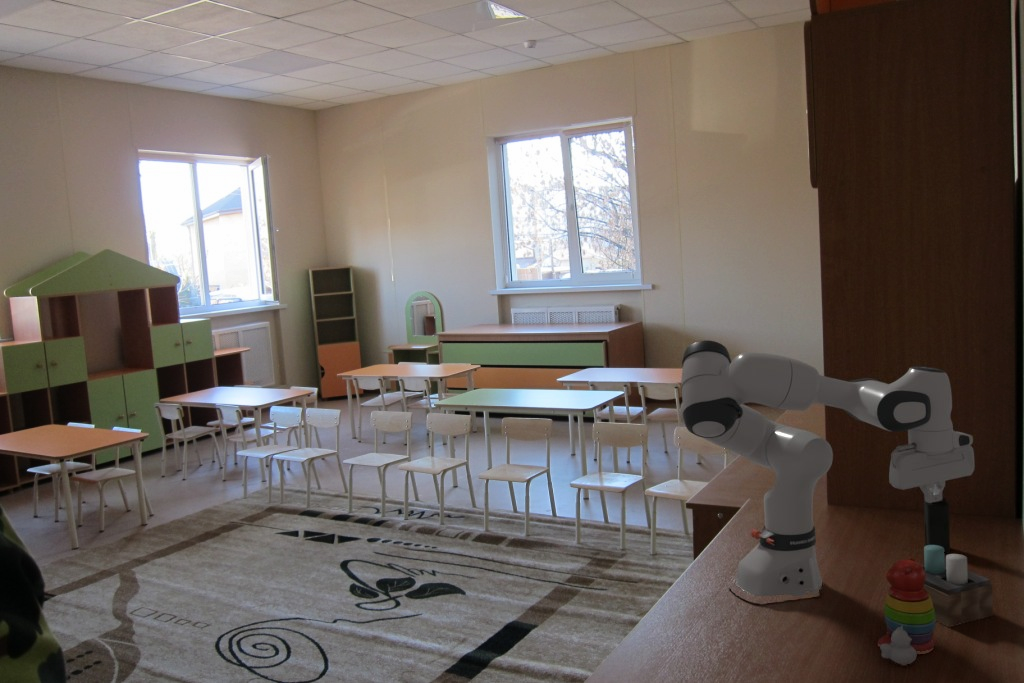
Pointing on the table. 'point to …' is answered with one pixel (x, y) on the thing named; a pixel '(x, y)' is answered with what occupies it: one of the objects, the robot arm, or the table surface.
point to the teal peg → (934, 559)
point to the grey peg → (956, 569)
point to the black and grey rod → (937, 523)
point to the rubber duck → (899, 647)
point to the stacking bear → (909, 605)
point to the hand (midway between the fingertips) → (932, 501)
